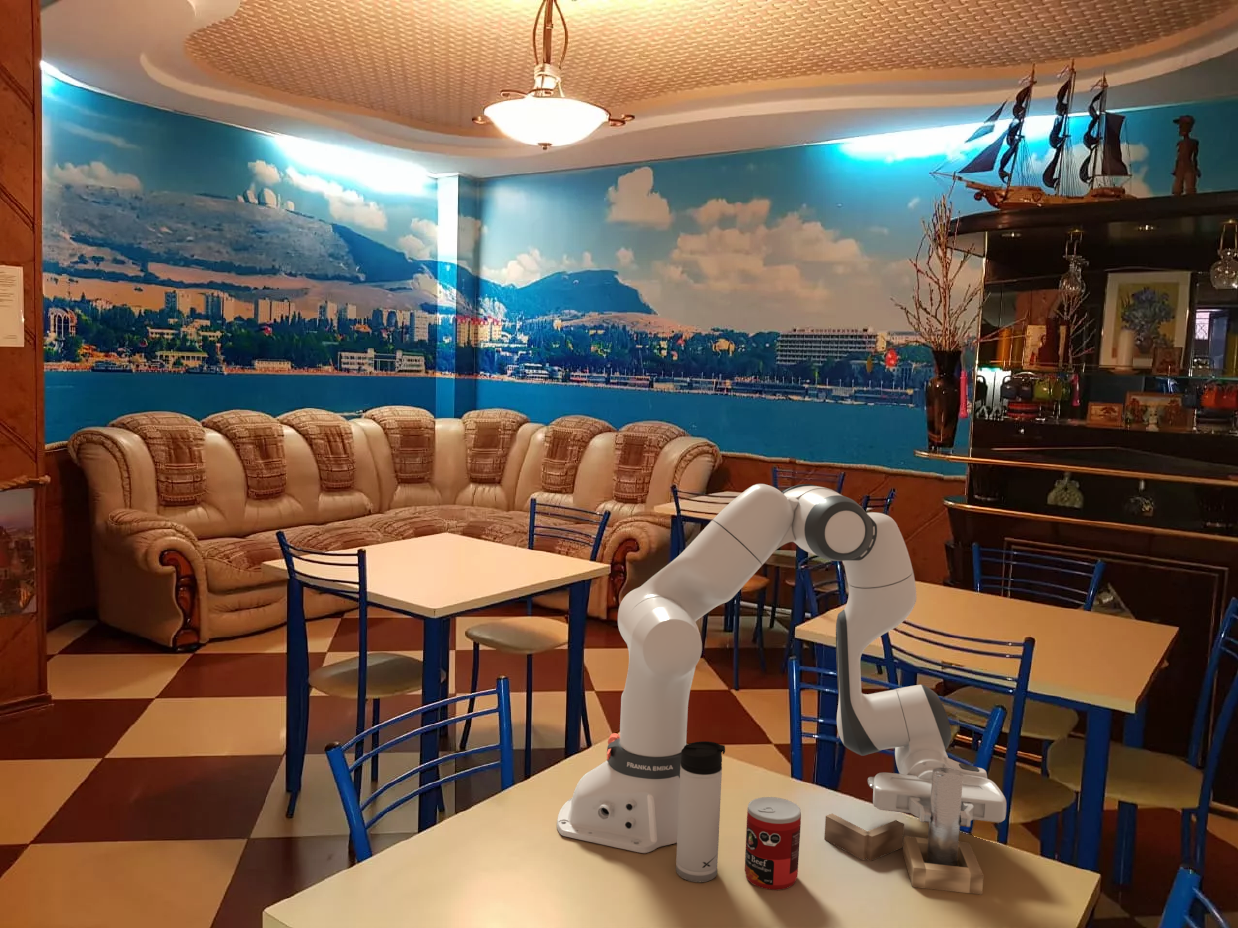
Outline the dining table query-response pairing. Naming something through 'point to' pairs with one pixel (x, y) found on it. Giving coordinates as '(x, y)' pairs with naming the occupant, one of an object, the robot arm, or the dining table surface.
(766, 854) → the canned food
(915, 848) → the oak collar
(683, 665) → the robot arm
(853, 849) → the walnut V-block
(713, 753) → the travel mug
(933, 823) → the steel axle
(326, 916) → the dining table surface
